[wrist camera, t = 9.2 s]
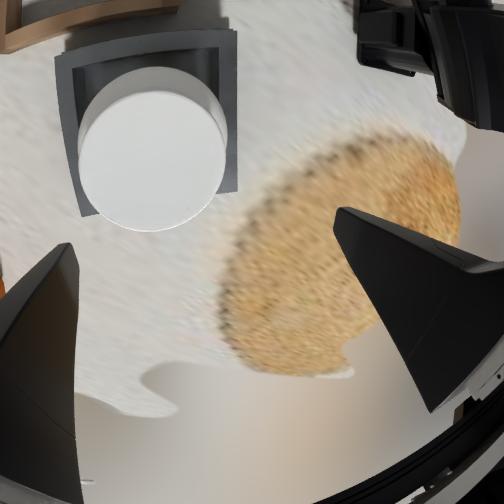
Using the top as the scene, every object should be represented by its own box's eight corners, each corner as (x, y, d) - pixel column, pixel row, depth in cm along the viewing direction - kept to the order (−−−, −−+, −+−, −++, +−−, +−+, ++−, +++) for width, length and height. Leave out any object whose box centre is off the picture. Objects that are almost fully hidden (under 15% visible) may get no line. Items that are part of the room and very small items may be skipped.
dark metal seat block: (229, 30, 16) (246, 23, 13) (230, 175, 22) (245, 197, 19) (65, 53, 13) (45, 51, 10) (87, 198, 19) (76, 225, 16)
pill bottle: (200, 155, 19) (245, 242, 11) (110, 164, 18) (77, 263, 9) (201, 66, 16) (257, 64, 7) (104, 74, 14) (44, 83, 6)
